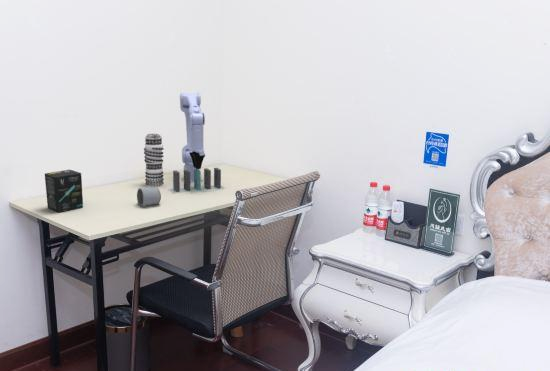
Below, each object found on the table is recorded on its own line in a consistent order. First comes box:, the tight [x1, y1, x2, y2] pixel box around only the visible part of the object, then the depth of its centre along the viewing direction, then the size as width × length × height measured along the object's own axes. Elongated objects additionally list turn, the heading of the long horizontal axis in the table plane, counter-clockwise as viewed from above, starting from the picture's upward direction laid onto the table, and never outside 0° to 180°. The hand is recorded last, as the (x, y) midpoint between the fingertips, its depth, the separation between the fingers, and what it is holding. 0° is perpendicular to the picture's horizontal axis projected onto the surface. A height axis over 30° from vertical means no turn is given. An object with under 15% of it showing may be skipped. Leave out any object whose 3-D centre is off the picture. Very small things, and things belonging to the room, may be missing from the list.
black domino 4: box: [213, 167, 222, 190], centre depth 250 cm, size 2×5×9 cm, turn 26°
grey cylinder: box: [136, 187, 162, 207], centre depth 220 cm, size 11×8×8 cm
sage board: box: [167, 184, 227, 194], centre depth 247 cm, size 8×26×1 cm, turn 116°
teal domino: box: [193, 169, 202, 190], centre depth 245 cm, size 2×5×9 cm, turn 26°
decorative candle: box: [143, 133, 165, 188], centre depth 247 cm, size 9×9×25 cm
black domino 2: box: [183, 169, 191, 191], centre depth 243 cm, size 2×5×9 cm, turn 26°
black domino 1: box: [172, 170, 181, 192], centre depth 241 cm, size 2×5×9 cm, turn 26°
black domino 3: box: [203, 167, 212, 189], centre depth 248 cm, size 2×5×9 cm, turn 26°
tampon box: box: [44, 169, 84, 214], centre depth 210 cm, size 11×9×15 cm
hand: (197, 168), depth 244 cm, fingers open, 3 cm apart
